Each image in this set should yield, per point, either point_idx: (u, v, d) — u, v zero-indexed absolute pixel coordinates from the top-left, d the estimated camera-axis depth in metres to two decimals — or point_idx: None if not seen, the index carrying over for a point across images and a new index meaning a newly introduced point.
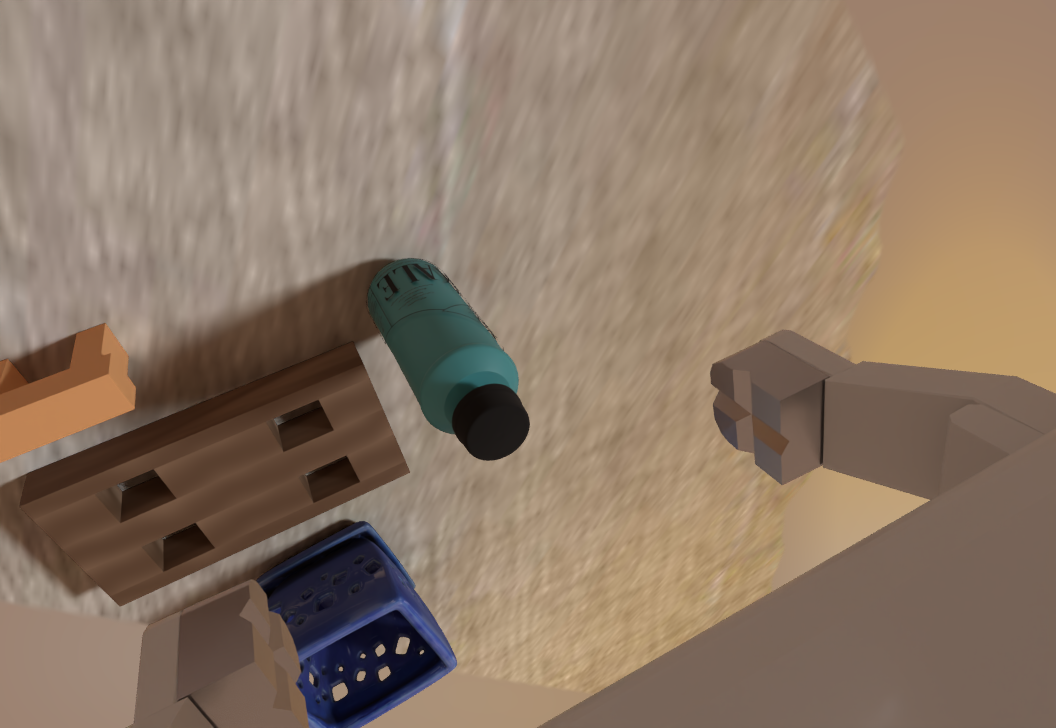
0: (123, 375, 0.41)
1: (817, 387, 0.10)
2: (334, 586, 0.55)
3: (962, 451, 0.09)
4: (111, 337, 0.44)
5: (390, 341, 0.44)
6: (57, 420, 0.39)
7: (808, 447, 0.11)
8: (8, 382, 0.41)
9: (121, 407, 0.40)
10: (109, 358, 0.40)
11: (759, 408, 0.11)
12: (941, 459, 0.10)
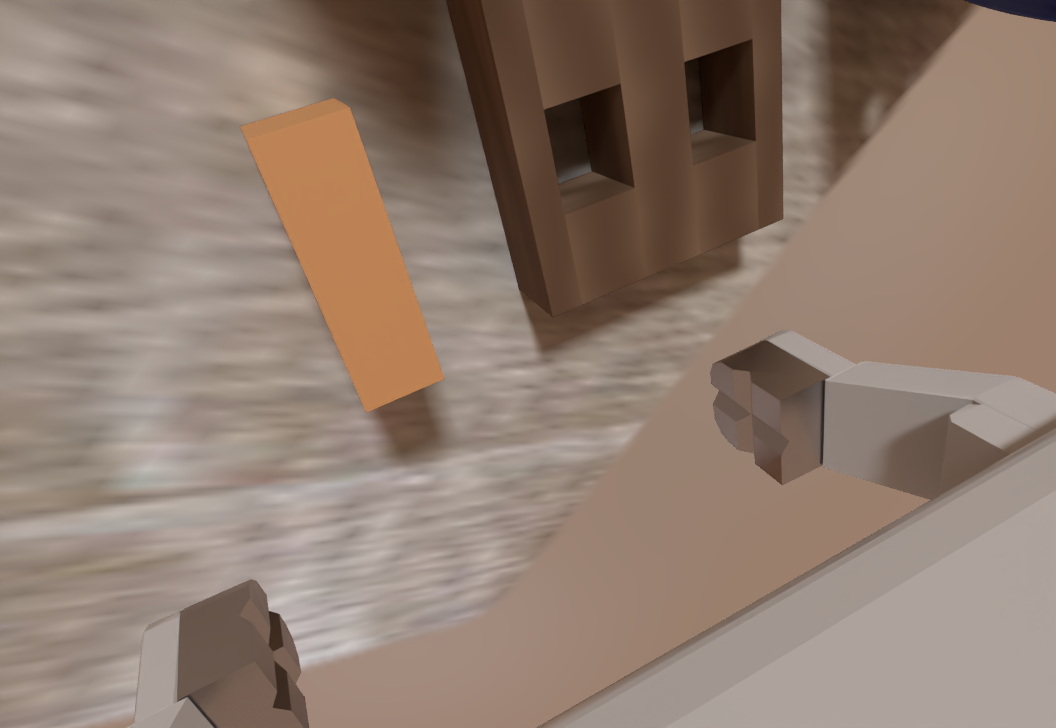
0: (291, 114, 0.19)
1: (817, 387, 0.10)
2: None
3: (962, 451, 0.09)
4: None
5: None
6: (355, 249, 0.20)
7: (808, 447, 0.11)
8: None
9: (342, 132, 0.18)
10: (242, 131, 0.19)
11: (758, 408, 0.11)
12: (941, 459, 0.10)
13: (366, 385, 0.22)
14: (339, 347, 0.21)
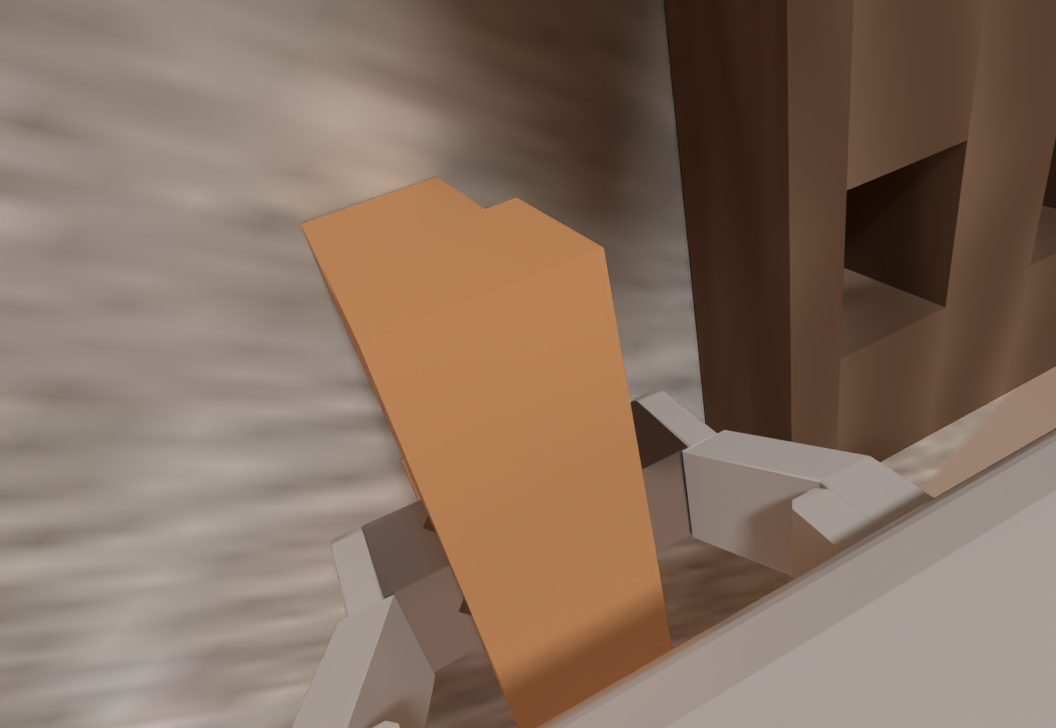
0: (436, 242, 0.09)
1: (675, 458, 0.10)
2: None
3: (804, 540, 0.08)
4: (346, 218, 0.12)
5: None
6: (569, 532, 0.09)
7: (673, 518, 0.10)
8: None
9: (579, 304, 0.07)
10: None
11: None
12: None
13: None
14: (512, 701, 0.10)
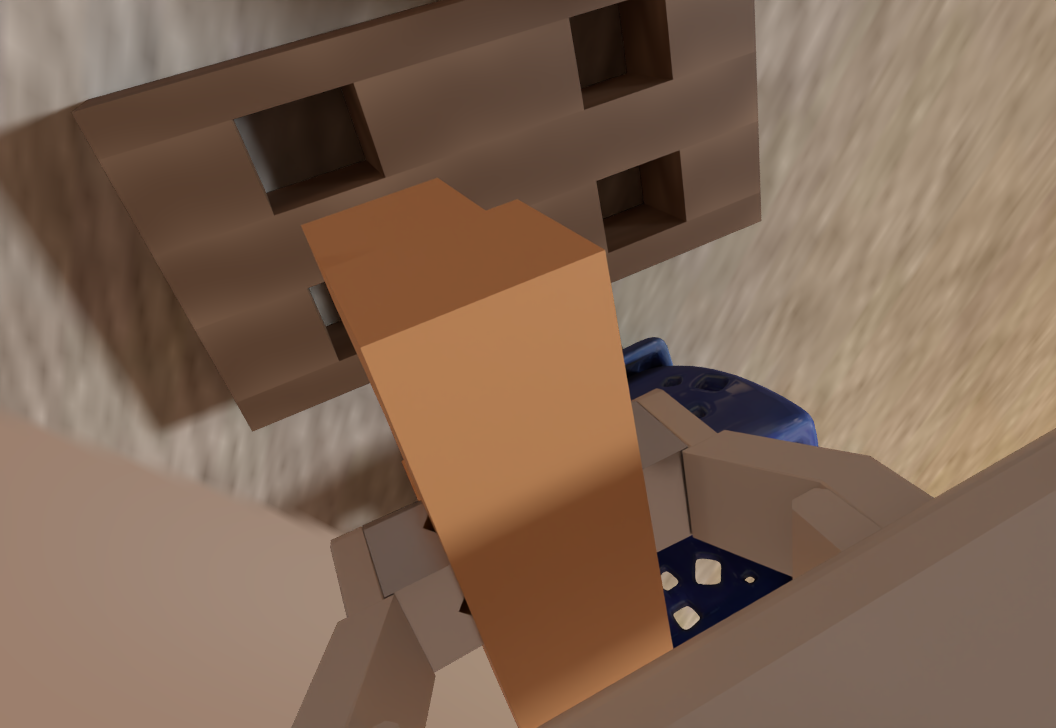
0: (437, 243, 0.09)
1: (675, 458, 0.10)
2: None
3: (804, 540, 0.08)
4: (346, 220, 0.12)
5: None
6: (569, 533, 0.09)
7: (673, 518, 0.10)
8: None
9: (581, 306, 0.07)
10: (333, 289, 0.08)
11: None
12: None
13: None
14: (513, 703, 0.10)
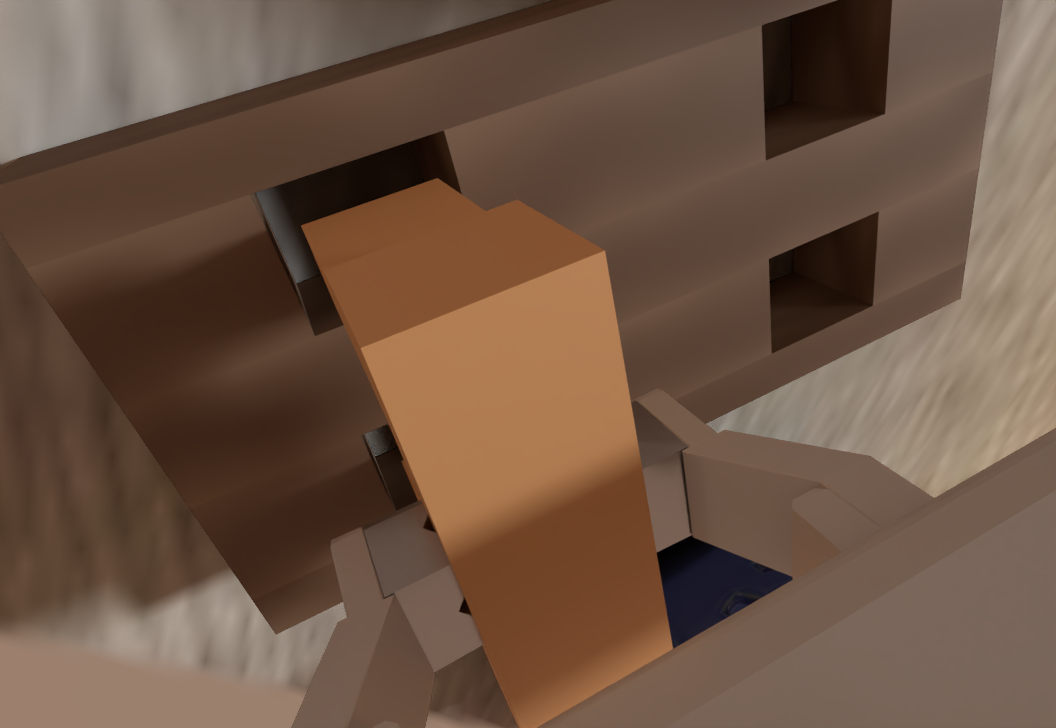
0: (438, 244, 0.09)
1: (675, 458, 0.10)
2: None
3: (804, 540, 0.08)
4: (347, 220, 0.12)
5: None
6: (570, 533, 0.09)
7: (673, 518, 0.10)
8: None
9: (581, 306, 0.07)
10: (333, 289, 0.08)
11: None
12: None
13: None
14: (513, 703, 0.10)
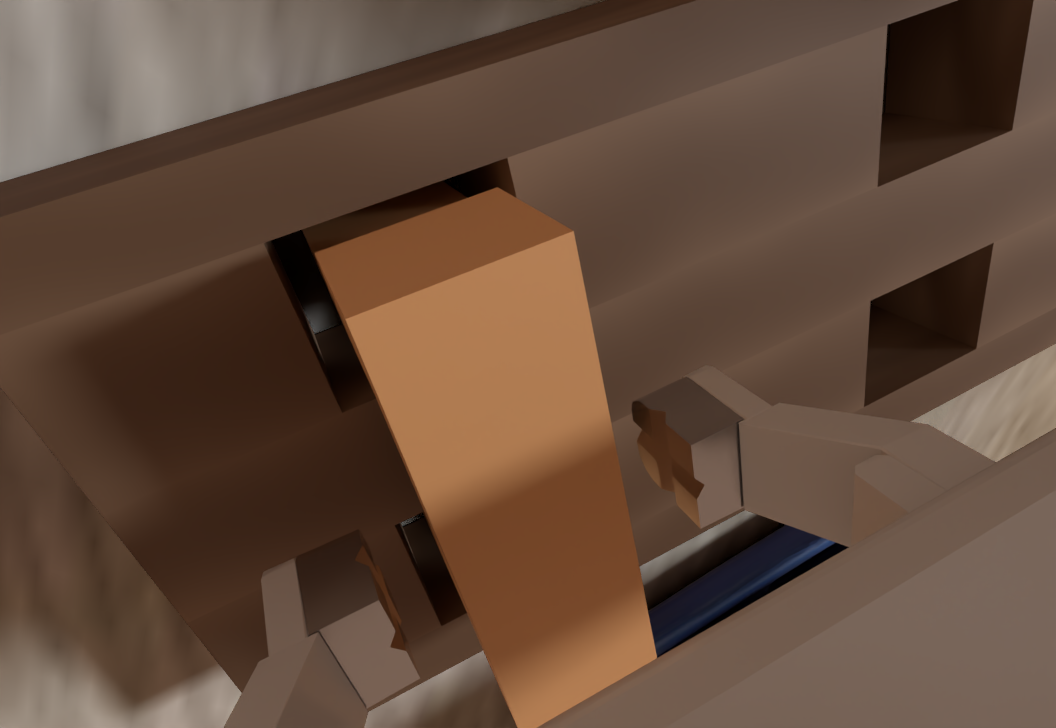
0: (421, 228, 0.09)
1: (731, 430, 0.10)
2: None
3: (867, 504, 0.08)
4: None
5: None
6: (546, 502, 0.10)
7: (726, 490, 0.10)
8: None
9: (552, 284, 0.08)
10: (322, 270, 0.09)
11: (674, 450, 0.10)
12: None
13: (533, 711, 0.12)
14: (495, 665, 0.11)
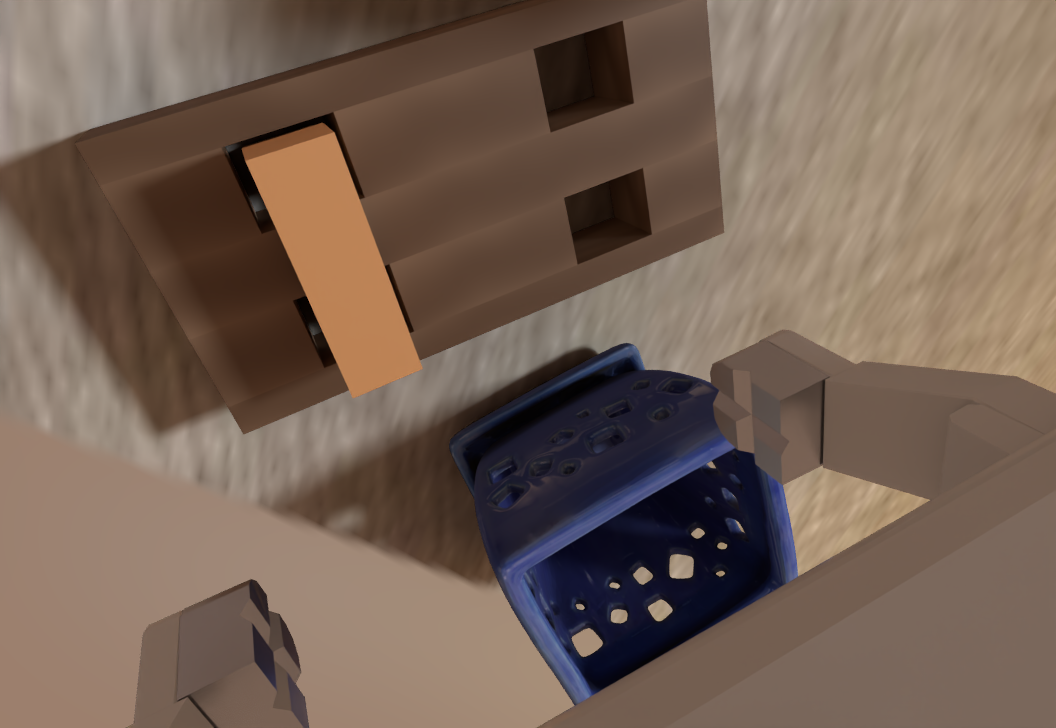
0: (285, 137, 0.22)
1: (817, 387, 0.10)
2: (614, 418, 0.30)
3: (962, 451, 0.09)
4: None
5: None
6: (341, 254, 0.22)
7: (808, 447, 0.11)
8: None
9: (328, 153, 0.21)
10: (243, 152, 0.22)
11: (759, 408, 0.11)
12: (941, 459, 0.10)
13: (352, 374, 0.24)
14: (328, 340, 0.24)
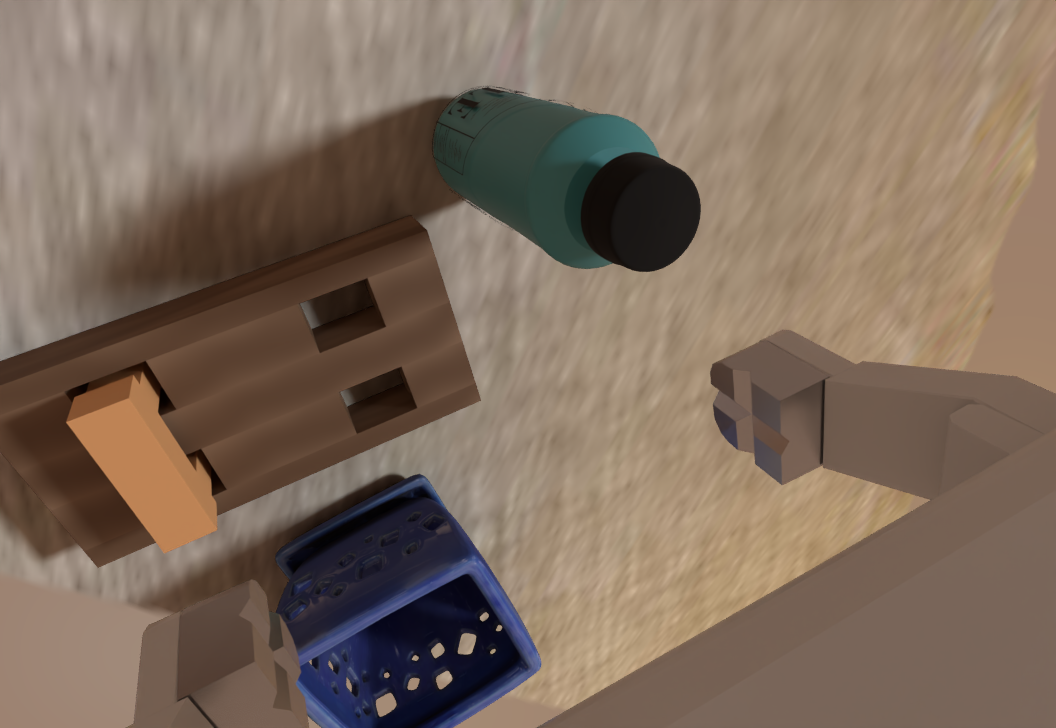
0: (103, 390, 0.33)
1: (817, 387, 0.10)
2: (383, 548, 0.41)
3: (962, 451, 0.09)
4: None
5: (471, 164, 0.32)
6: (143, 467, 0.33)
7: (808, 447, 0.11)
8: None
9: (126, 410, 0.32)
10: (73, 403, 0.32)
11: (758, 408, 0.11)
12: (942, 459, 0.10)
13: (162, 538, 0.35)
14: (140, 519, 0.34)
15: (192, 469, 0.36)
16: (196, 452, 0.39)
